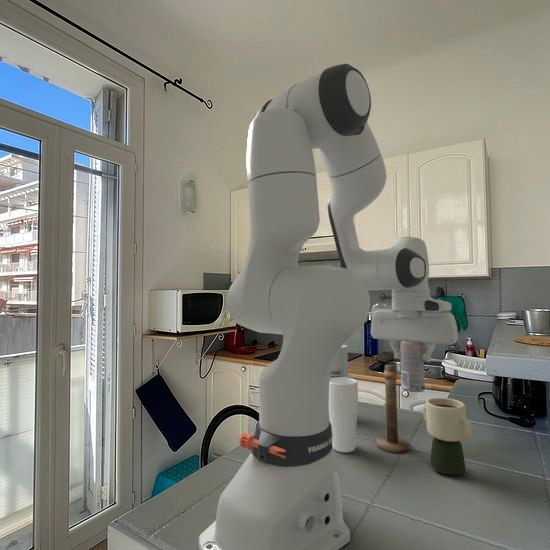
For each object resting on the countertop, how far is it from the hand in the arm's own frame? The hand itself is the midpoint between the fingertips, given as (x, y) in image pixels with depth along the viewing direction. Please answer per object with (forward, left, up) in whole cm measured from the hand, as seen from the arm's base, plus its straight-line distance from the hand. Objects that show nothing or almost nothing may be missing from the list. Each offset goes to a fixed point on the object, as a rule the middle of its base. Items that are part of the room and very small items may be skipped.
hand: (412, 360), depth 86 cm
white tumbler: (-17, +10, -18) cm, 27 cm away
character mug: (-13, -11, -18) cm, 25 cm away
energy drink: (0, 0, -7) cm, 7 cm away
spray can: (-1, +21, -18) cm, 28 cm away
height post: (-9, +2, -18) cm, 20 cm away
